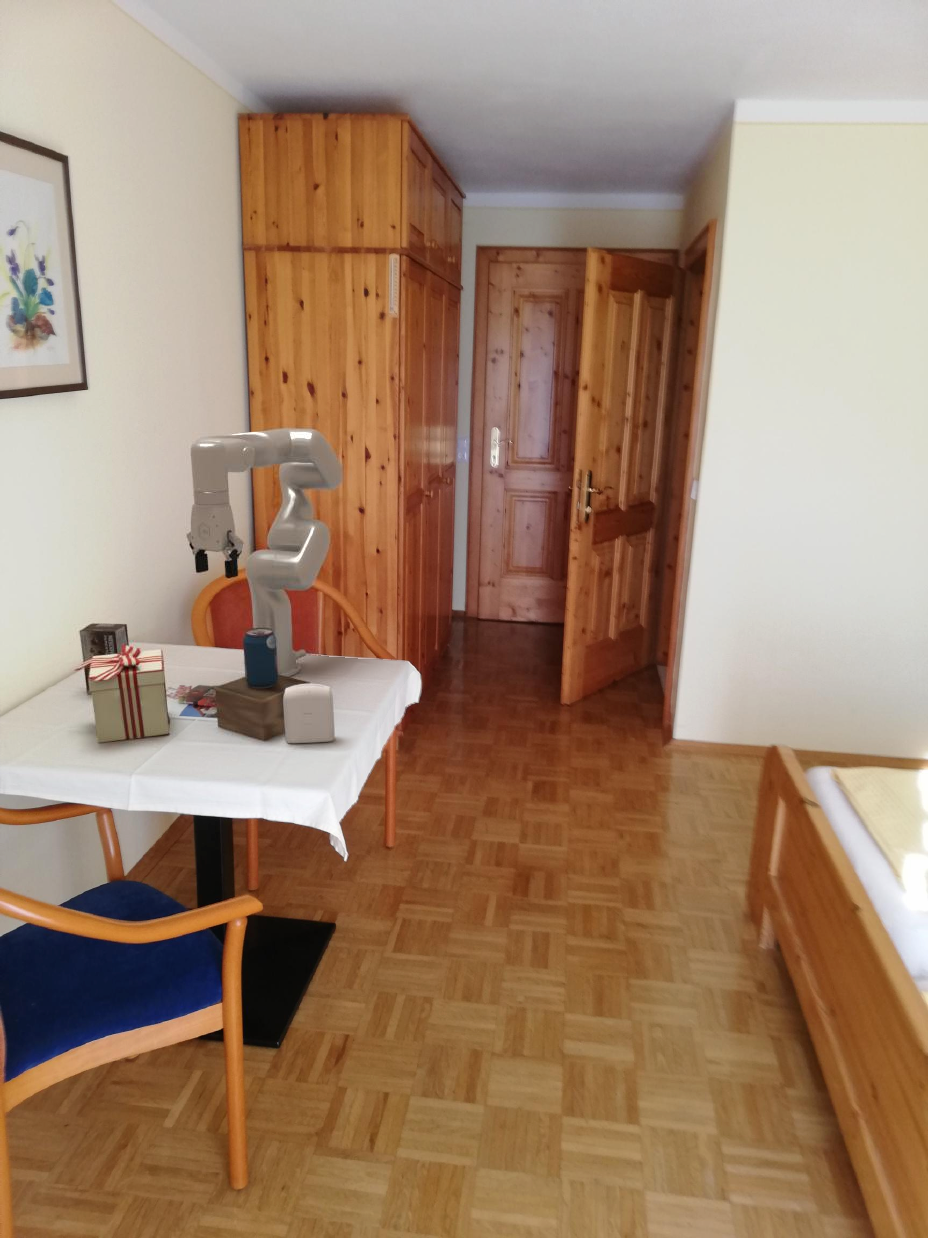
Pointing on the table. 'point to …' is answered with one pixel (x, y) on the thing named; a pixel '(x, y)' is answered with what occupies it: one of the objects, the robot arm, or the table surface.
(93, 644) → the coffee box
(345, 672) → the table surface
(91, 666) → the gift box
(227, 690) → the walnut box
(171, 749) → the table surface
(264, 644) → the soda can
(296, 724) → the photo printer
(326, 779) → the table surface
